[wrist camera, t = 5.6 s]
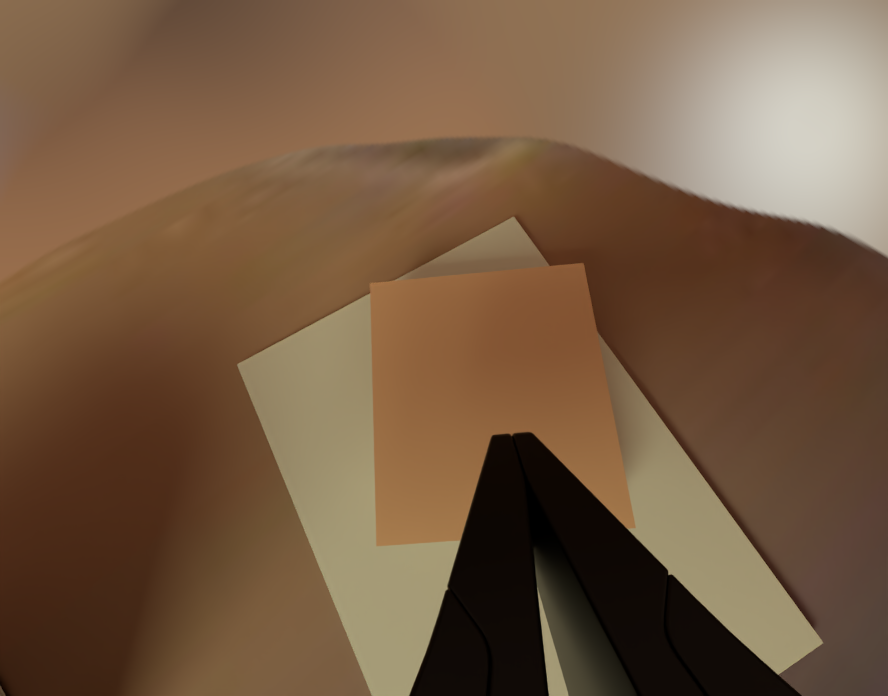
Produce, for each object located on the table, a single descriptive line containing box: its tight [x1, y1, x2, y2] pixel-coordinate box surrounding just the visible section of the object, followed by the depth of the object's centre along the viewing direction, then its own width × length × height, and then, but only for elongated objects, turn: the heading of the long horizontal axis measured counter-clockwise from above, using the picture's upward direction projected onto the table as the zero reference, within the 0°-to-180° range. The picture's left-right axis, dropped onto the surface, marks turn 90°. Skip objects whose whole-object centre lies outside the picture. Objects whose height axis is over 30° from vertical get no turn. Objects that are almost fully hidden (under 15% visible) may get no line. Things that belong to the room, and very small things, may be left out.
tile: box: [370, 263, 636, 546], centre depth 14 cm, size 2×8×9 cm
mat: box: [237, 217, 823, 696], centre depth 14 cm, size 14×19×1 cm
